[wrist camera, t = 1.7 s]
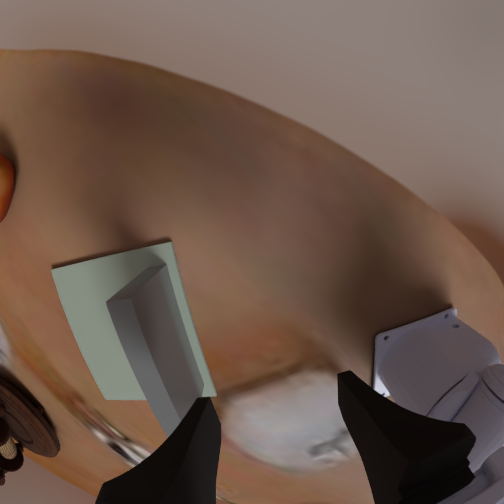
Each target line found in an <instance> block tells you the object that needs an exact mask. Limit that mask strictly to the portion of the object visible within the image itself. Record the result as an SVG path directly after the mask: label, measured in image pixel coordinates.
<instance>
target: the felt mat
mask: <svg viewBox="0 0 504 504" xmlns="http://www.w3.org/2000/svg"><path fill="white" fill-rule="evenodd" d="M164 264H167V267H168V271H169V274H170V278H171V282H172V285H173V289H174V293H175V296H176V300H177V303H178V306H179V310H180V313H181V316H182V320H183V323H184V326H185V329H186V333H187V336H188V339H189V342H190V345H191V348H192V351H193V354H194V357H195V360H196V362H197V365H198V368H199V371H200V374H201V377H202V379H203V382H204V389H203V394H202V397H211V396H217V392H216V389H215V386H214V384H213V381H212V378H211V375H210V372H209V369H208V366H207V363H206V360H205V357H204V354H203V351H202V348H201V345H200V341H199V338H198V335H197V332H196V328H195V325H194V322H193V318H192V315H191V311H190V308H189V304H188V301H187V297H186V294H185V290H184V286H183V283H182V279H181V275H180V271H179V267H178V263H177V259H176V255H175V251H174V247H173V243H172V241H170V242H166V243H161V244H157V245H152V246H148V247H143V248H139V249H134V250H130V251H125V252H121V253H117V254H112V255H108V256H104V257H100V258H95V259H91V260H87V261H83V262H79V263H75V264H71V265H67V266H63V267H59V268H55V269H52V270H51V272H52V275H53V278H54V282H55V285H56V288H57V291H58V294H59V297H60V300H61V303H62V306H63V308H64V311H65V314H66V317H67V319H68V322H69V324H70V327H71V329H72V332H73V334H74V337H75V339H76V341H77V344H78V346H79V348H80V350H81V352H82V355H83V357H84V359H85V361H86V363H87V365H88V367H89V369H90V371H91V373H92V375H93V377H94V379H95V381H96V383H97V385H98V387H99V389H100V390H101V392H102V394H103V396H104V398H105V399H109V400H147V399H146V397H145V395H144V393H143V391H142V389H141V387H140V385H139V383H138V381H137V379H136V377H135V375H134V373H133V370H132V368H131V366H130V364H129V361H128V359H127V357H126V355H125V352H124V350H123V347H122V345H121V343H120V340H119V338H118V335H117V332H116V330H115V327H114V325H113V322H112V319H111V316H110V314H109V311H108V308H107V305H106V301H107V300H109V299H110V298H111V297H112V296H113V295H115V294H116V293H117V292H118V291H119V290H121V289H122V288H123V287H124V286H125V285H127V284H128V283H129V282H130V281H132V280H133V279H134V278H135V277H136V276H138V275H139V274H140V273H141V272H143V271H144V270H145V269H146V268H149V267H154V266H159V265H164Z"/></svg>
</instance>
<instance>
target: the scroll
mask: <svg viewBox="0 0 504 504" xmlns="http://www.w3.org/2000/svg"><path fill="white" fill-rule="evenodd" d="M43 410H44V408H43V407H42V406H39V407H37V408H35V407H34V406H33V405H32V404H31V403H30V402H29V401H28V400H27V399H26V398H25V397H24V396H23V395H22V394H21V393H20V392H19V391H17V390H16V389H15V388H14V387H13V386H11V385H10V384H9V383H7V382H6V381H4V380H3V379H1V378H0V485H4V483H5V478H4V477H5V475H4V474H5V473H7V472H14V471H17V470H19V469H20V468H21V466H22V465H23V461H24V459H23V454H22V452H23V447H25V448H27V449H28V450H30V451H32V452H34V453H36V454H38V455H42V456H46V457H55V456H56V455H57V454H58V452H59V451H60V443H59V440H58V438H57V436H56V434H55V432H54V431H53V429H52V428H51V426H50V425H49V424H48V422H47V421H46V420H45V419H44V417H43V416H42V414H43ZM12 437H13V438H14V439H15V440H16V441H17V442H18V443H16V444H15V443H14V441H13V439H12Z"/></svg>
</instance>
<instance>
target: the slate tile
mask: <svg viewBox="0 0 504 504" xmlns="http://www.w3.org/2000/svg"><path fill="white" fill-rule="evenodd" d="M106 305H107V308H108V311H109V314H110V316H111V319H112V322H113V325H114V327H115V330H116V332H117V335H118V338H119V340H120V343H121V345H122V347H123V350H124V352H125V355H126V357H127V359H128V361H129V364H130V366H131V368H132V370H133V373H134V375H135V377H136V379H137V381H138V383H139V385H140V387H141V389H142V391H143V393H144V395H145V397H146V399H147V401H148V403H149V405H150V407H151V409H152V411H153V412H154V414H155V416H156V418H157V420H158V422H159V423H160V425H161V427H162V429H163V430H164V432H165V434H166V435H167V437H169V436H170V435H171V434H172V432H173V431H174V430H175V429H176V427H177V426H178V425H179V423H180V422H181V421H182V419H183V418H184V416H185V415H186V414H187V412H188V411H189V409H190V408H191V406H192V405H193V403H194V402H195V400H196V399H197V398H199V397H202V394H203V389H204V382H203V379H202V377H201V374H200V371H199V368H198V365H197V362H196V360H195V357H194V354H193V351H192V348H191V345H190V342H189V339H188V336H187V333H186V329H185V326H184V323H183V320H182V316H181V313H180V310H179V306H178V303H177V300H176V296H175V293H174V289H173V285H172V282H171V278H170V274H169V271H168V267H167V264H164V265H159V266H154V267H149V268H146V269H145V270H144V271H143V272H141V273H140V274H139V275H138V276H136V277H135V278H134V279H133V280H132V281H130V282H129V283H128V284H127V285H125V286H124V287H123V288H122V289H121V290H119V291H118V292H117V293H116V294H115V295H113V296H112V297H111V298H110V299H109V300H107V301H106Z"/></svg>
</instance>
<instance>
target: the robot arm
mask: <svg viewBox="0 0 504 504" xmlns="http://www.w3.org/2000/svg"><path fill="white" fill-rule="evenodd" d="M445 315H446V316H445ZM456 315H457V310H456V309H455V308H454V307H453V308H450V309H447V310H445V311H442V312H440V313H437V314H435V315H432V316H429V317H427V318H424V319H421V320H418V321H416V322H413V323H410V324H407V325H404V326H401V327H398V328H395V329H392V330H389V331H386V332H382V333H379V334H378V335H377V336H376V337H375V359H374V380H373V388H371V387H370V386H369V385H367V384H366V383H365V382H364V381H362V380H361V379H360V378H359V377H358V376H356V375H355V374H354V373H353V372H352V371H350V370H349V371H345V372H342V373H338V374H337V377H338V404H339V407H340V411H341V414H342V417H343V420H344V422H345V424H346V426H347V428H348V431H349V433H350V435H351V437H352V439H353V441H354V443H355V445H356V447H357V449H358V451H359V454H360V456H361V458H362V461H363V464H364V467H365V470H366V473H367V477H368V480H369V483H370V487H371V490H372V494H373V498H374V502H375V504H504V365H502V364H501V360H500V357H499V354H498V352H497V350H496V348H495V346H494V345H493V344H492V343H491V342H490V341H489V340H488V339H487V338H485V337H484V336H482V335H481V334H480V333H478V332H477V331H475V330H474V329H472V328H471V327H470V326H468V325H467V324H465V323H464V322H462V321H461V320H459V319H458V318H457V317H456ZM385 336H387V337H386V338H385V339H384V337H385ZM382 393H383V394H382ZM389 395H391V397H392V398H393V400H394V401H395V403H394V402H392V401H391V400H389V399H387V398H386V397H387V396H389ZM220 446H221V423H220V421H219V419H218V416H217V414H216V411H215V409H214V406H213V403H212V401H211V398H210V397H199V398H197V399H196V400H195V402H194V403H193V405H192V406H191V408H190V409H189V411H188V412H187V414H186V415H185V416H184V418H183V419H182V421H181V422H180V423H179V425H178V426H177V427H176V429H175V430H174V431H173V432H172V434H171V435H170V436H169V437H168V438H167V439H166V441H165V442H164V443H163V444H162V445H161V446H160V447H159V448H158V449H157V450H156V451H155V452H154V453H152V454H151V455H150V456H149V457H147V458H146V459H145V460H144V461H142V462H141V463H140V464H138V465H137V466H135V467H134V468H132V469H131V470H129V471H127V472H125V473H124V474H122V475H120V476H118V477H116V478H114V479H112V480H109V481H107V482H105V483H103V485H102V487H101V489H100V492H99V495H98V497H97V500H96V503H95V504H216V476H217V469H218V461H219V454H220Z"/></svg>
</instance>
